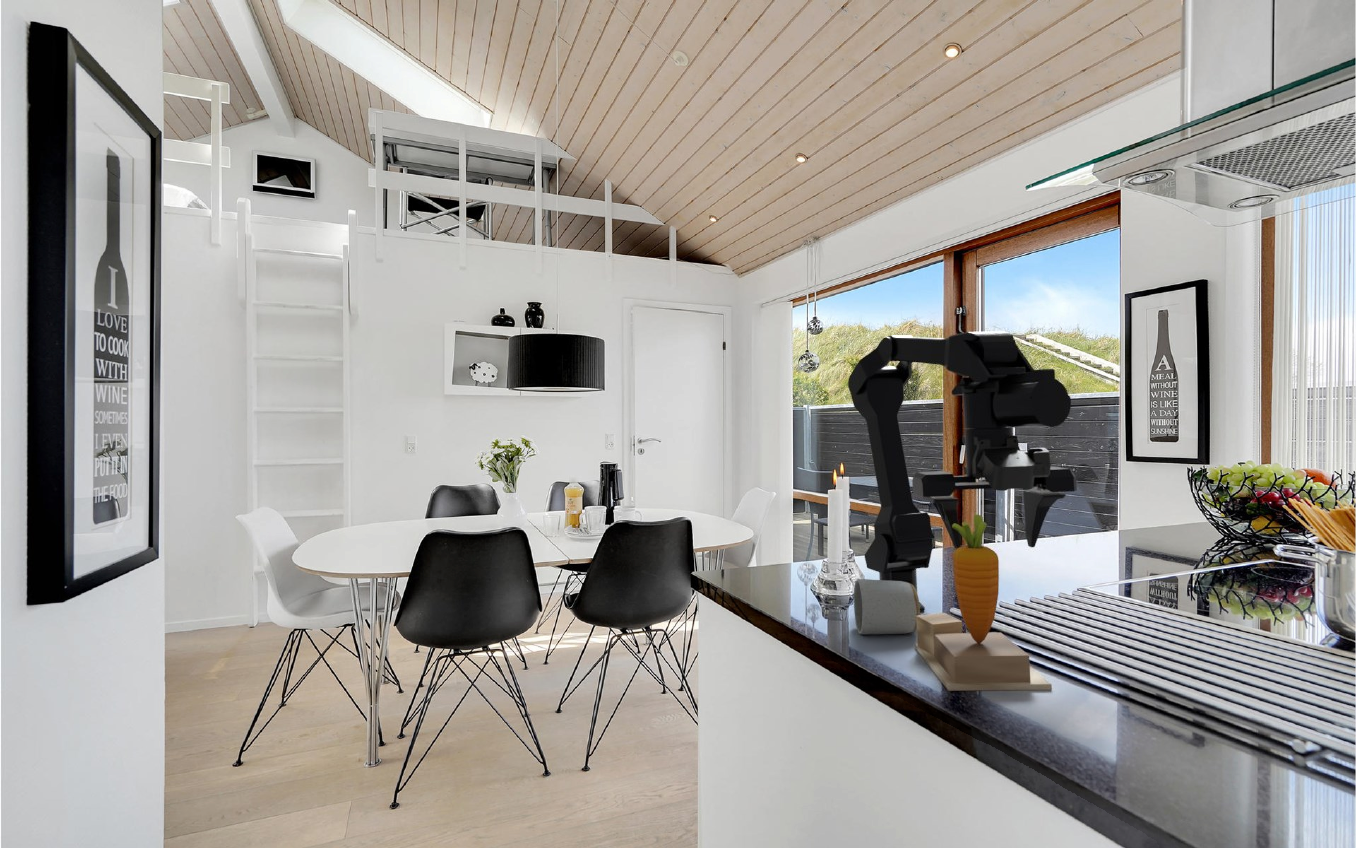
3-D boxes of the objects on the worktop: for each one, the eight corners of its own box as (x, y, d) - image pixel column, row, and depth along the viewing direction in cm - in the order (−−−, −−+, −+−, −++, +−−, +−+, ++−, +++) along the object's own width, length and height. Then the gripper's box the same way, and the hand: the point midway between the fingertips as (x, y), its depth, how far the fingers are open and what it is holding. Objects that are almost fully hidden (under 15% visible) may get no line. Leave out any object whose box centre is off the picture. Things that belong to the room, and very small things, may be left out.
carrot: (974, 652, 75) (969, 520, 75) (946, 639, 80) (941, 514, 80) (1012, 647, 76) (1006, 517, 76) (982, 634, 81) (977, 512, 81)
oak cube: (917, 646, 87) (916, 615, 87) (945, 643, 87) (944, 612, 87) (934, 656, 83) (932, 624, 83) (963, 653, 83) (962, 621, 83)
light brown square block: (934, 658, 82) (933, 633, 82) (1002, 657, 81) (1000, 632, 81) (955, 683, 74) (954, 656, 74) (1030, 682, 73) (1029, 655, 73)
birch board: (915, 648, 88) (914, 643, 88) (1001, 646, 87) (1001, 642, 87) (948, 690, 74) (948, 685, 74) (1051, 689, 73) (1051, 684, 73)
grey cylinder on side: (924, 640, 91) (921, 583, 91) (863, 641, 91) (860, 585, 91) (903, 618, 101) (900, 568, 101) (849, 620, 102) (846, 570, 102)
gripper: (932, 432, 79) (939, 563, 79) (1097, 424, 77) (1104, 558, 77) (908, 431, 90) (914, 546, 90) (1052, 424, 88) (1058, 541, 88)
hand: (994, 548), depth 86 cm, fingers open, 9 cm apart
